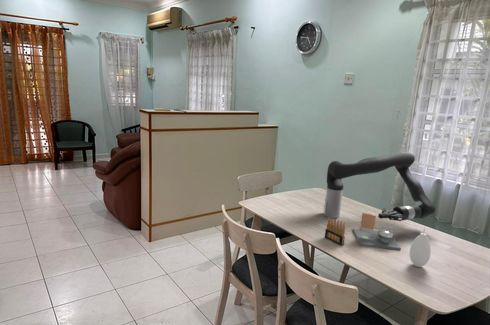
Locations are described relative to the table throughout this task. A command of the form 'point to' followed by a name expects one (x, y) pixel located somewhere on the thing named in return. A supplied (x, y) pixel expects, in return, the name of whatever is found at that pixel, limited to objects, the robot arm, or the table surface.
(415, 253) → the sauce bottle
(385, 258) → the table surface
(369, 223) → the twist collar
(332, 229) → the ammunition clip
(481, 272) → the table surface
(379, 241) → the lock base
